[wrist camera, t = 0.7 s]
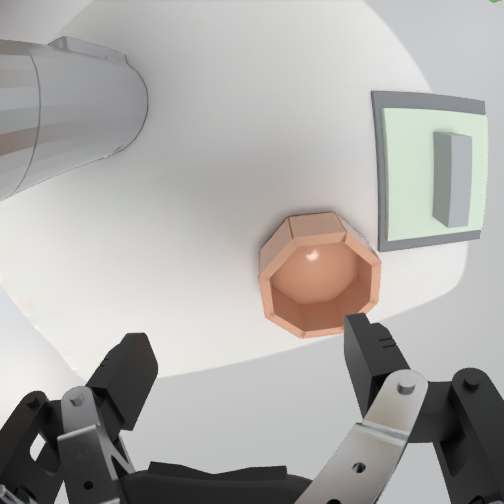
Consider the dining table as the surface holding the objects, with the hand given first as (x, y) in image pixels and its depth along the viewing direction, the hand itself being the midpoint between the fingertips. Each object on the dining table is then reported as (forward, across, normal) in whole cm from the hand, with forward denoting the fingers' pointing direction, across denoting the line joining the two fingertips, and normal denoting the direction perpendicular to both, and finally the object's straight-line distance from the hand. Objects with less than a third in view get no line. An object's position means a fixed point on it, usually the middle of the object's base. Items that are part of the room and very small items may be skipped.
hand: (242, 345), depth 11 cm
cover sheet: (+16, -18, -4) cm, 24 cm away
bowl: (+17, -5, +4) cm, 18 cm away
